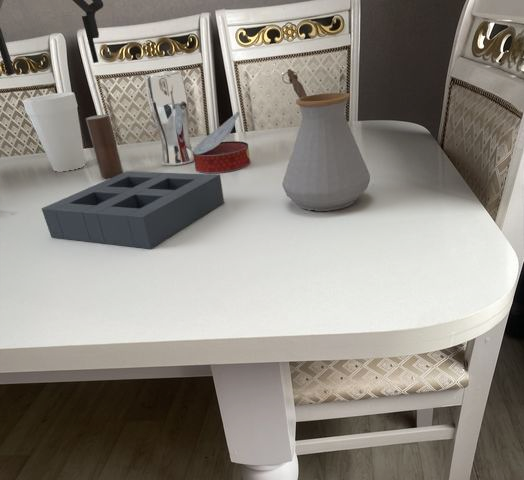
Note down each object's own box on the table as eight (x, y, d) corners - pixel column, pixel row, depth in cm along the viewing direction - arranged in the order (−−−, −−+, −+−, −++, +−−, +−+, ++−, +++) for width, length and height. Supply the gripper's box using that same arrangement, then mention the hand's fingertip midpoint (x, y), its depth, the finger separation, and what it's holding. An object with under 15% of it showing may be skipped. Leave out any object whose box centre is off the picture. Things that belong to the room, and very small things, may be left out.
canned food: (239, 197, 92) (221, 152, 83) (192, 188, 96) (171, 144, 88) (266, 151, 96) (252, 104, 87) (220, 144, 100) (203, 98, 91)
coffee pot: (384, 206, 67) (386, 74, 58) (296, 222, 65) (286, 89, 57) (330, 168, 84) (326, 63, 76) (260, 180, 83) (249, 74, 75)
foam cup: (101, 159, 108) (82, 90, 101) (80, 172, 101) (59, 98, 94) (59, 162, 110) (38, 95, 103) (36, 175, 103) (12, 103, 96)
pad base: (51, 237, 71) (41, 208, 68) (132, 197, 83) (126, 171, 81) (151, 249, 63) (143, 216, 61) (224, 202, 75) (220, 174, 73)
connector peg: (97, 178, 96) (80, 119, 90) (111, 172, 98) (96, 114, 93) (113, 179, 94) (98, 119, 88) (128, 172, 97) (113, 114, 91)
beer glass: (174, 156, 104) (158, 71, 96) (204, 156, 101) (190, 68, 93) (153, 166, 99) (134, 77, 90) (184, 166, 96) (167, 74, 88)
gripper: (-96, -96, 70) (-30, 81, 81) (93, -114, 73) (130, 58, 85) (-79, -86, 76) (-20, 77, 88) (95, -103, 80) (129, 56, 91)
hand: (54, 68), depth 86 cm, fingers open, 13 cm apart
